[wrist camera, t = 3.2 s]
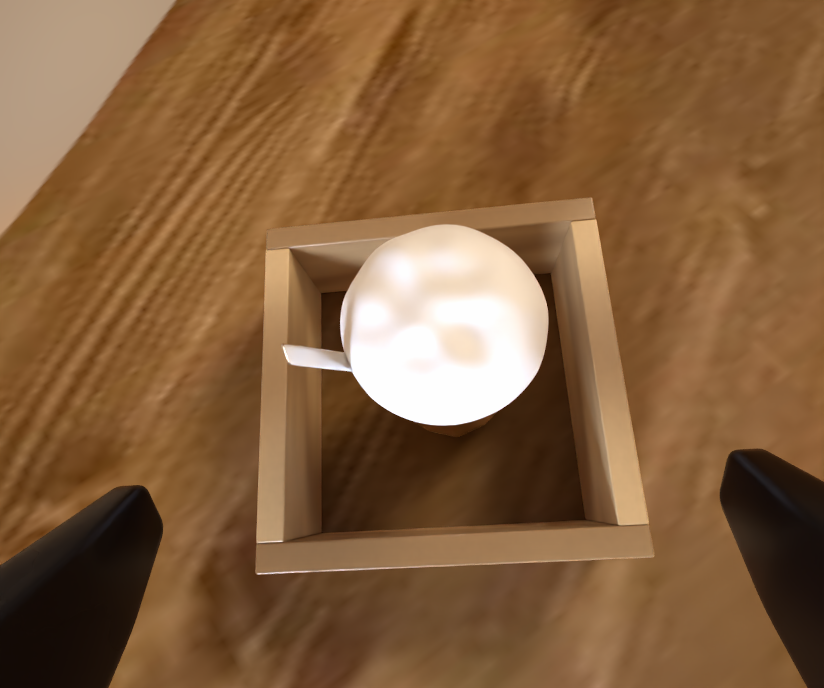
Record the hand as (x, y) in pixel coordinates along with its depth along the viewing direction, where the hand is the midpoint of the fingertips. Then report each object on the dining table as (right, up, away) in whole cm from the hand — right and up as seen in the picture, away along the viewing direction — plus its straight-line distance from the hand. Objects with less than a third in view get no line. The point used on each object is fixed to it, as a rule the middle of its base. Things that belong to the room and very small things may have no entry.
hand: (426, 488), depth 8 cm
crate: (+1, 0, +11) cm, 11 cm away
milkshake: (+1, 0, +11) cm, 11 cm away
